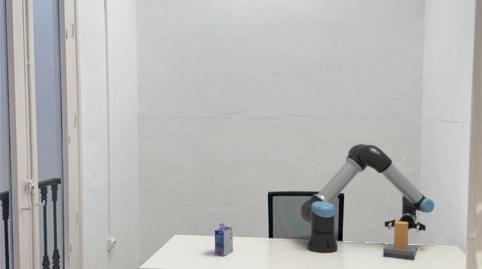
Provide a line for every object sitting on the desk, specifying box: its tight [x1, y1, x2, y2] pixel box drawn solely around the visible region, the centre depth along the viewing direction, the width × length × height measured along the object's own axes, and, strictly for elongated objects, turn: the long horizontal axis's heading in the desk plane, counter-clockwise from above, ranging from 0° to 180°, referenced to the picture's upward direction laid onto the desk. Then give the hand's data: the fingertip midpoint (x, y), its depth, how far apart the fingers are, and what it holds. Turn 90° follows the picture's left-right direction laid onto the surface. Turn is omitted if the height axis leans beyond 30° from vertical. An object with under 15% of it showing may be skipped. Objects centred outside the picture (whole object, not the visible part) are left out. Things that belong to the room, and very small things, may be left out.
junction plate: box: [382, 243, 418, 261], centre depth 230 cm, size 14×20×7 cm
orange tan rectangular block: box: [393, 220, 409, 250], centre depth 231 cm, size 6×6×13 cm
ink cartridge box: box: [214, 222, 234, 257], centre depth 225 cm, size 10×6×14 cm, turn 155°
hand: (403, 228), depth 234 cm, fingers open, 13 cm apart
